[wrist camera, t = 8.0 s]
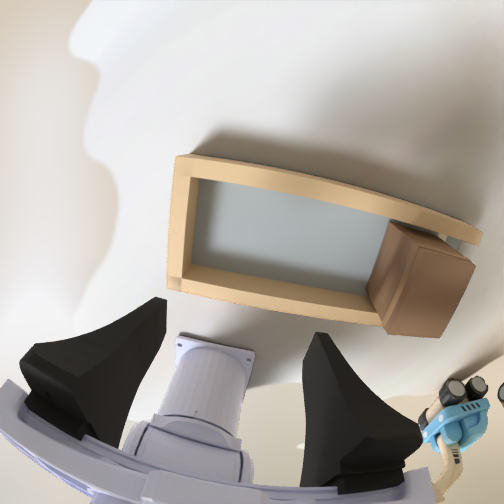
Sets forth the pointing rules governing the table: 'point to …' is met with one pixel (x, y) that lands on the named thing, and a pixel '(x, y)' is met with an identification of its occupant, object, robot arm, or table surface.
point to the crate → (417, 282)
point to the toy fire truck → (501, 394)
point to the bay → (285, 237)
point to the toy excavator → (454, 426)
